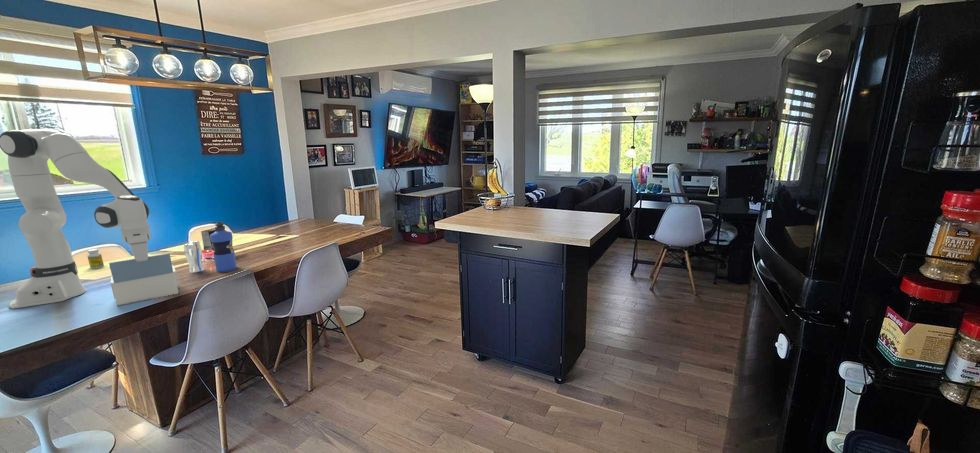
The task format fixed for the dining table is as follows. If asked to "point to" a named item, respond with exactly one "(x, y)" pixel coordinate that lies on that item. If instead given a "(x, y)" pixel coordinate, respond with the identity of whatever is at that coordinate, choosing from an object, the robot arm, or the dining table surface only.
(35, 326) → the dining table surface
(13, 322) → the dining table surface
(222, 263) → the water bottle
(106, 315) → the dining table surface
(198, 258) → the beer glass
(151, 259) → the front flap
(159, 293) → the carton
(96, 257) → the supplement bottle
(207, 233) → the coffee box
